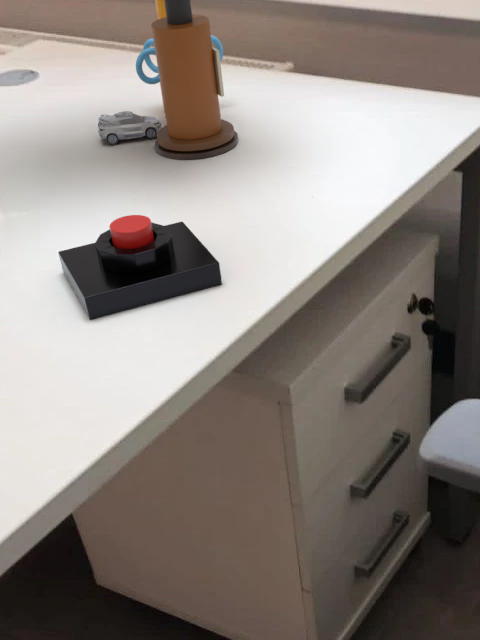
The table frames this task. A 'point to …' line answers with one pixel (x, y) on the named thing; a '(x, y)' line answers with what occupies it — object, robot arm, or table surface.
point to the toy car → (127, 126)
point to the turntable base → (197, 154)
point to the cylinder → (148, 51)
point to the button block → (139, 270)
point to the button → (131, 232)
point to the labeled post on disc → (189, 81)
